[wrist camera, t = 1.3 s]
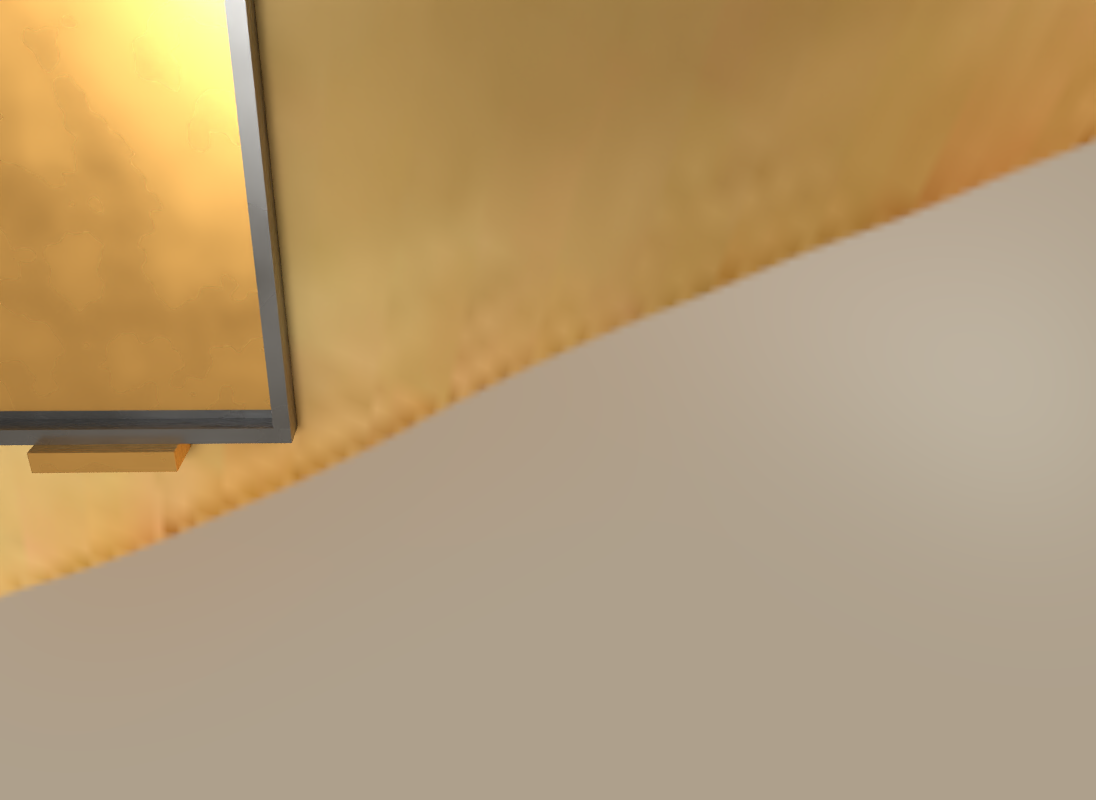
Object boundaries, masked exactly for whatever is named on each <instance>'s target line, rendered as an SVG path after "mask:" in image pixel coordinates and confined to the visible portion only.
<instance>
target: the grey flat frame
mask: <svg viewBox="0 0 1096 800" xmlns="http://www.w3.org/2000/svg"><path fill="white" fill-rule="evenodd" d="M296 430H297V419H296V409H295V399H294V389H293V379H292V370H291V360H290V350H289V340H288V330H287V320H286V311H285V301H284V291H283V281H282V271H281V261H280V252H279V242H278V232H277V222H276V212H275V202H274V193H273V183H272V173H271V163H270V153H269V143H268V134H267V124H266V114H265V104H264V94H263V84H262V75H261V65H260V55H259V45H258V35H257V26H256V16H255V6H254V0H0V445H34V446H33V447H32V448H31V449H30V450H29V452H28V453H27V455H28V459H29V463H30V467H31V471H32V473H78V472H177V471H178V469H179V467H180V465H181V464H182V462H183V460H184V458H185V456H186V454H187V453H188V451H189V449H190V447H191V445H190V444H213V443H292V441H293V438H294V435H295V432H296Z"/></svg>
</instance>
